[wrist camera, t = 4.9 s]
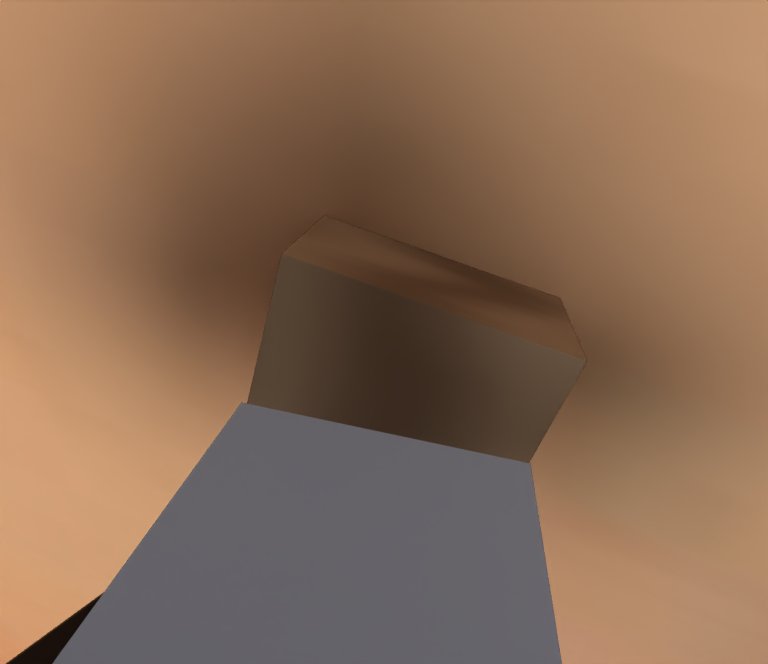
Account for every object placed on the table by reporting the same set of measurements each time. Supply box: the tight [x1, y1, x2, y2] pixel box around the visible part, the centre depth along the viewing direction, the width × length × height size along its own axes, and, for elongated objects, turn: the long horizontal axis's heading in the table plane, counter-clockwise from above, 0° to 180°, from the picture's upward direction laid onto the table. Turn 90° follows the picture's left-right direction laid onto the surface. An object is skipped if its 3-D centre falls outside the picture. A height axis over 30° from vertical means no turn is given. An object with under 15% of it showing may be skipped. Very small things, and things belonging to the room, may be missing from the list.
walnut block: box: [247, 216, 587, 463], centre depth 15 cm, size 7×7×4 cm
